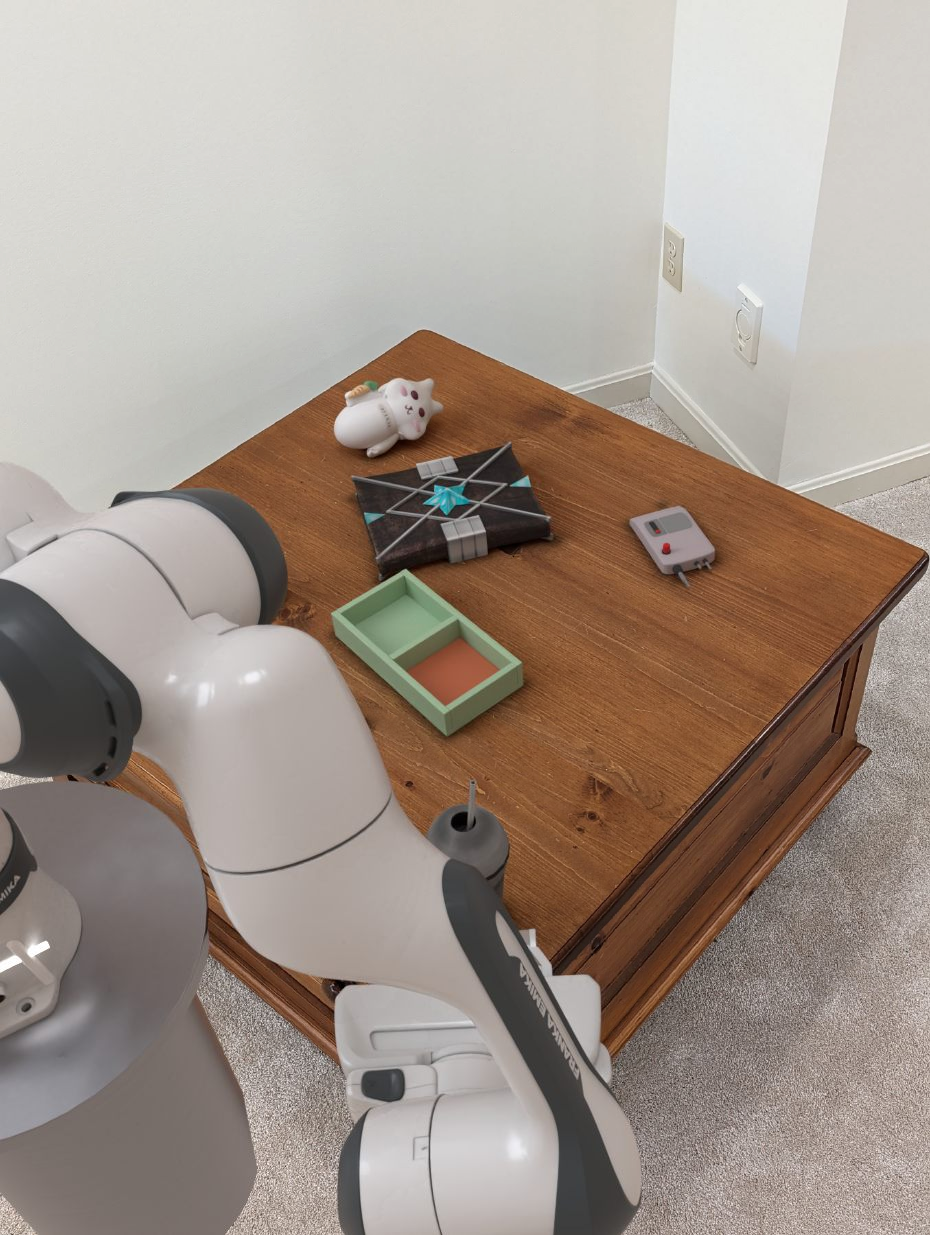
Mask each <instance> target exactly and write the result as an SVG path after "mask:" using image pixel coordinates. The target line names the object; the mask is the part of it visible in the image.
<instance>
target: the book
mask: <svg viewBox="0 0 930 1235" xmlns="http://www.w3.org/2000/svg"><path fill="white" fill-rule="evenodd" d="M512 449H513V442H512V441H508V442H507V443H506V444H505V445H502V446H497V447H494V448H490V449H485V450H482V451H478V452H474V453H471V454H467V455H466V454H465V455H462V456H459V457H454V458H453V455H450V456H445V457H441V458H435V459H432V460H426V461H422V462H418V463H415V467H413V468H408V469H403V470H399V471H395V472H387V473H382V474H376V475H370V476H363V477H362V476H357V475H351V476H350V479H351V483H353V484H354V488H355V491H356V492H355V493H354V499H355V500H356V501H357V505H358V507H359V511H360V513H361V517H362V521H363V524H364V526H365V529H366V533H367V536H368V539H369V542H370V545H371V549H372V551H373V554H374V559H375V563H376V565H377V569H378V572H379V573H378V575H377V576H378V580H379V582H380V581H381V582H382V581H383V580H384V579H386V577H388V576H389V575H391V574H394V573H397V572H401V571H403V570H405V569H406V570H408V569H409V568H413V567H416V566H420V565H423V564H426V563H430V562H434V561H438V560H443V559H447V560H448V563H449V565H451V564H454V563H459V562H464V561H467V560H472V559H476V558H481V557H484V556H488V555H489V553H488V549H489V550H490V549H492V548H497V547H502V546H507V545H513V544H516V543H517V544H518V543H521V542H528V541H533V540H537V539H543V540H547V541H554V533H553V532H551V525H552V516H549V515H547V513H546V512H545V510H544V508H543V506H542V504H541V502H540V501H539V499H538V497H537V496H536V494H535V492H534V490H533V488H532V487H531V486H532V485H531V481H530V478H529V475H525V473H524V471H523V469H522V467H521V465H520V462H519V461H518V459H517V457H516V455H515V453H514V450H512Z"/></svg>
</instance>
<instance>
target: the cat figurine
mask: <svg viewBox="0 0 930 1235" xmlns="http://www.w3.org/2000/svg"><path fill="white" fill-rule="evenodd" d="M434 388H435V381H434V380H433V379H432V378H430V377H429V378H426V379H424V380H420V381H414V380H409V379H404V378H403V377H397V378H393V379H391V380H390V381H389V382H386V383H384V384H382V385H381V386H379V387H378V382H376V380H375V381H372V380H366V381H364V382H363V384H359V385H357V386H355V387H353V389H352V390H349V391H347V392H346V393H344V399H345V404H346V406H345V407H344V408H343V409H342V410H341V411H340V412H339V413H338V414H337V417H336V419H335V421H334V424H333V433H334V436H335V438H336V440H337V441H338V442H339V443H340V444H341V445H342V446H344V447H346V448H348V449H354V450H364V449H367V450H366V455H367V457H369V458H375V457H378V456H379V455H382V454H384V453H386V452H387V451H389V450H390V449H391V448H392V447H393V446H395V444H396V443H397V441H399V440H400V441H404V440H409V441H417V440H418V439H419V438H421V437H422V436H423V435H424V434H425V432H426V430H427V425H428V424H429V422H430V420H431V418H432V417H433V416H435V415H438V414H441V413H442V412H443V411H444V406H443V403H441V402H439V401H436V400H434V399H433V398H432V394H433V391H434Z"/></svg>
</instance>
